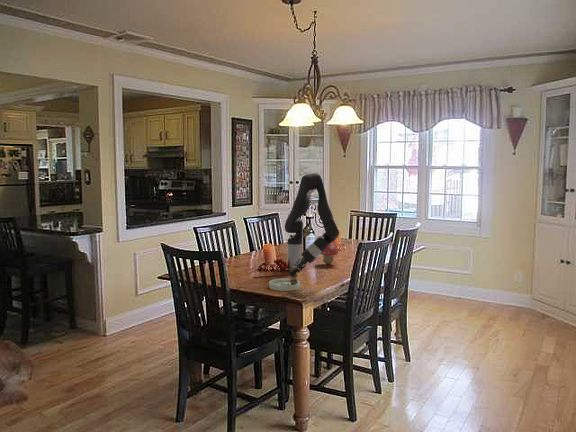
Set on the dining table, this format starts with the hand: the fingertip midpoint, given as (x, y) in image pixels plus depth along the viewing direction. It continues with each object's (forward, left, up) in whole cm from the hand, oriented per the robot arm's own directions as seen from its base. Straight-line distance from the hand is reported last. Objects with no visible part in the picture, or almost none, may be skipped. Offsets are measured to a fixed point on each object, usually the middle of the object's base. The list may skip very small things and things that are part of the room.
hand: (290, 274), depth 282 cm
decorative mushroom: (-65, -2, -7) cm, 65 cm away
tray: (+2, -2, -7) cm, 7 cm away
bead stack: (-1, +2, -6) cm, 6 cm away
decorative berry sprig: (-22, -23, -7) cm, 33 cm away
